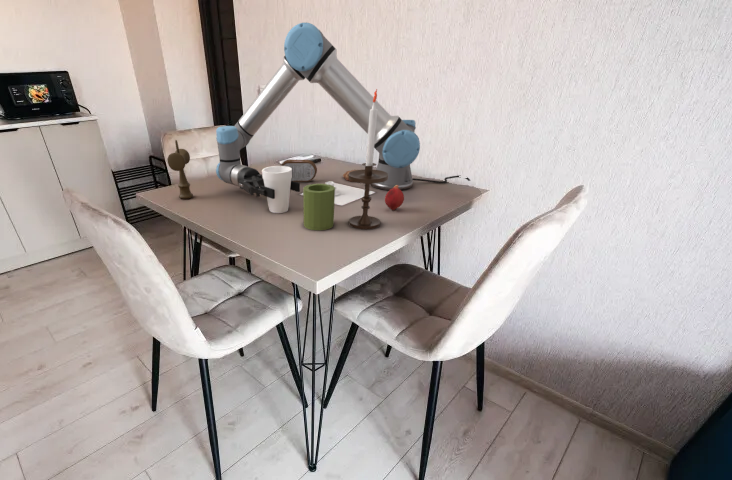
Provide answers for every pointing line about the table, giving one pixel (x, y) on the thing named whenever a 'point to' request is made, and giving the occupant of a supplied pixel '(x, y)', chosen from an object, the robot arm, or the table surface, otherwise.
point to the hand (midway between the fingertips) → (286, 190)
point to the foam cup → (278, 187)
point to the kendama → (180, 170)
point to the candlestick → (368, 176)
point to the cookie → (347, 175)
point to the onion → (394, 198)
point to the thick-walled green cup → (318, 206)
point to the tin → (301, 170)
